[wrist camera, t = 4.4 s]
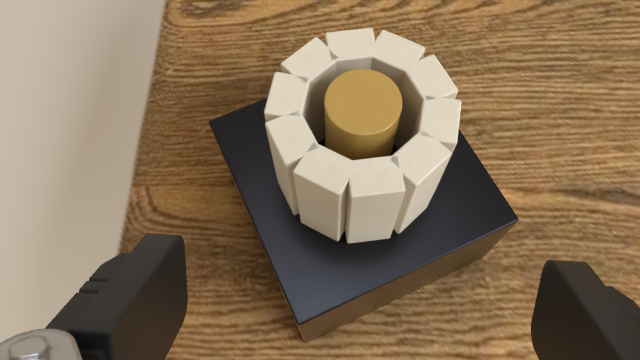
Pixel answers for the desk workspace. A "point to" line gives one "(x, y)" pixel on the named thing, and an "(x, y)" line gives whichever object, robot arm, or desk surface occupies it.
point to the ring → (364, 174)
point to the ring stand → (339, 256)
